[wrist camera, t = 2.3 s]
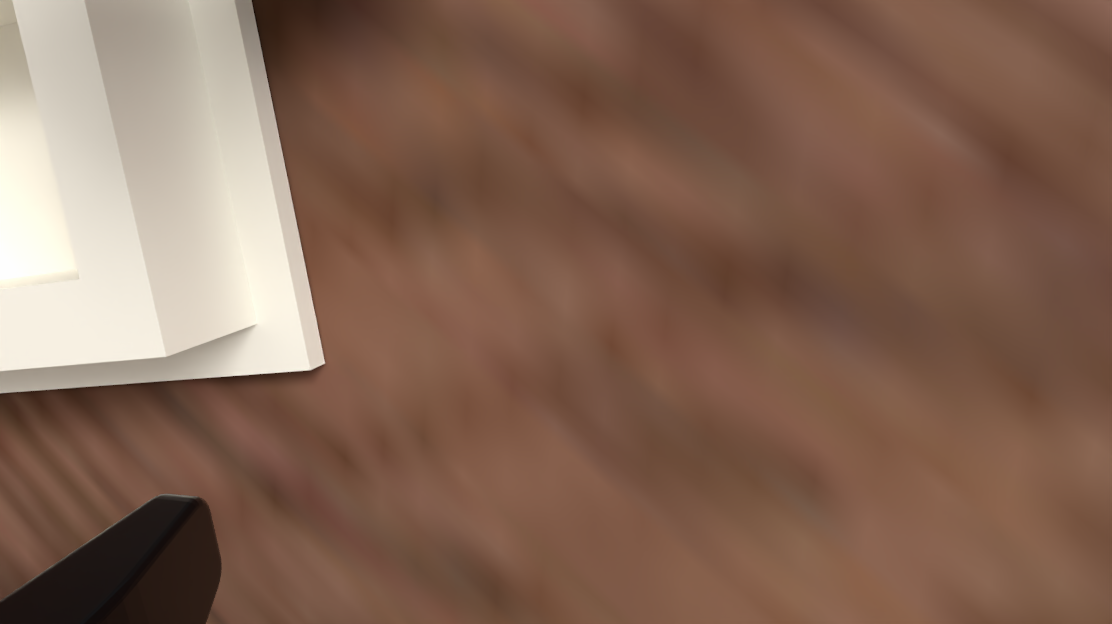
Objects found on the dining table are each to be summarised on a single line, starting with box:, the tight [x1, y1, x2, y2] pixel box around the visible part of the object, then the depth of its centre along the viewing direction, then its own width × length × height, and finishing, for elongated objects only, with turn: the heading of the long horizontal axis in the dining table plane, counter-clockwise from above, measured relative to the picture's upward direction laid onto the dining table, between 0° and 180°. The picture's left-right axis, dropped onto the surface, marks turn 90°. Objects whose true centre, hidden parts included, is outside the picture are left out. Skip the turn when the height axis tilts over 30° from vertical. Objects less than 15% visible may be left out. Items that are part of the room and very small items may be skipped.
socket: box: [0, 0, 325, 393], centre depth 23 cm, size 12×12×4 cm
